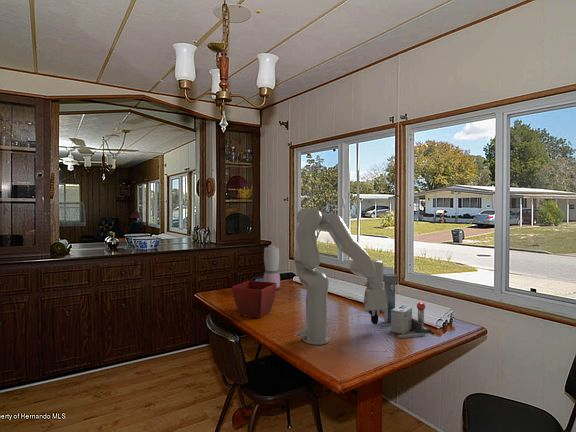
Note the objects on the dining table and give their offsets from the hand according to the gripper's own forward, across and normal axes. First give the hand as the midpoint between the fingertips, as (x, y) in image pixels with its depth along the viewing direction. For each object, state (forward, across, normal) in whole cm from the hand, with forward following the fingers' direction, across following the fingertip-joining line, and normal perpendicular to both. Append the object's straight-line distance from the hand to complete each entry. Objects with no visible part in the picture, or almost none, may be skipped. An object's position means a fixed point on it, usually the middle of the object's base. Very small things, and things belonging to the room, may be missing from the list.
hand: (374, 323), depth 169 cm
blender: (+5, -35, +101) cm, 107 cm away
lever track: (+4, +24, +2) cm, 24 cm away
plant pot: (+5, -54, +40) cm, 67 cm away
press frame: (+4, +14, +3) cm, 15 cm away
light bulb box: (+4, +15, +1) cm, 15 cm away
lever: (+4, +24, -1) cm, 24 cm away
